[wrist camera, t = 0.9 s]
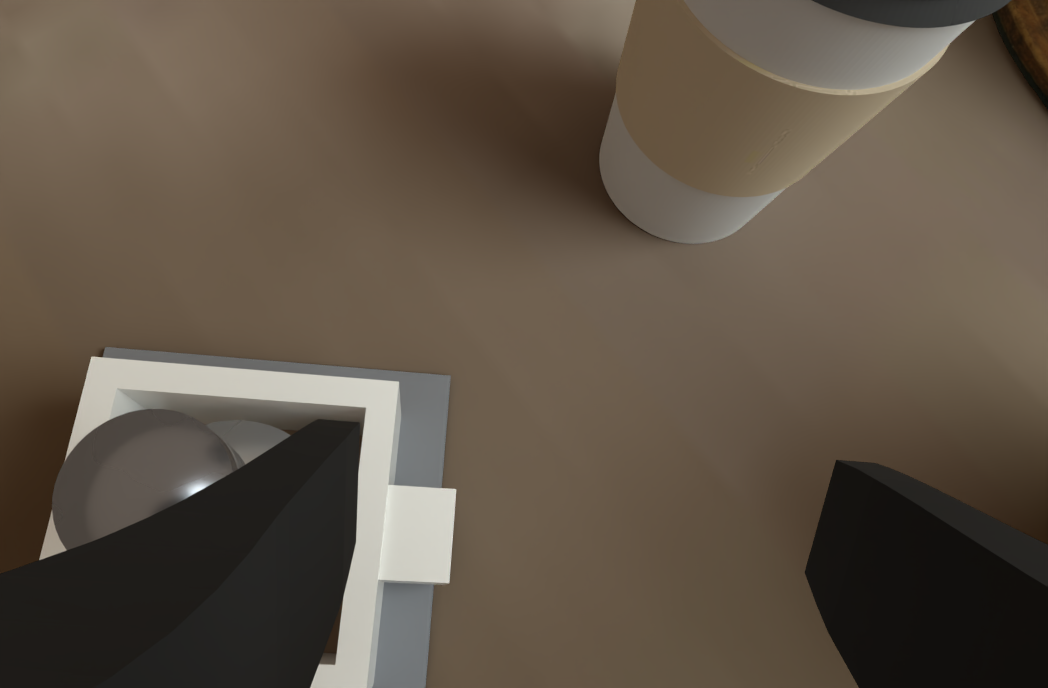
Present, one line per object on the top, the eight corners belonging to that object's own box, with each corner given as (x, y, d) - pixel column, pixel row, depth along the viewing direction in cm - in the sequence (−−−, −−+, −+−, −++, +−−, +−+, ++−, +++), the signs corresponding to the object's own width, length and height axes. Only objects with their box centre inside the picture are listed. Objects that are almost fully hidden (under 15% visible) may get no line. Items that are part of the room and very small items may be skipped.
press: (431, 742, 21) (434, 775, 17) (11, 732, 20) (-90, 767, 16) (459, 378, 25) (468, 336, 21) (107, 348, 23) (45, 298, 19)
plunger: (321, 639, 18) (276, 660, 12) (97, 630, 18) (-69, 648, 12) (348, 431, 20) (319, 360, 14) (145, 417, 20) (23, 335, 14)
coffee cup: (524, 143, 28) (633, -310, 14) (682, 39, 31) (905, -422, 17) (682, 315, 27) (981, 2, 13) (833, 189, 30) (1213, -180, 16)
